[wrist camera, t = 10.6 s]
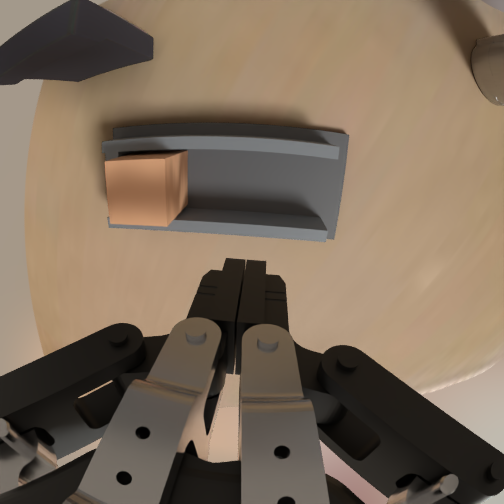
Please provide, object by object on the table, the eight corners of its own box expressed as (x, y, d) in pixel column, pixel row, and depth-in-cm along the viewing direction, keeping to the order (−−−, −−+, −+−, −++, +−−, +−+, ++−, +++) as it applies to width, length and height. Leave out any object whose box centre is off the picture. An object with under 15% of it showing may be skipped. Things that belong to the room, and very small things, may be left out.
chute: (116, 127, 27) (94, 130, 22) (347, 134, 26) (361, 136, 22) (121, 222, 32) (103, 238, 28) (332, 236, 32) (342, 255, 27)
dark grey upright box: (155, 32, 22) (80, -13, 8) (154, 64, 23) (73, 33, 10) (78, 57, 22) (-8, 45, 9) (78, 86, 24) (-12, 86, 11)
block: (137, 151, 27) (104, 161, 21) (187, 150, 27) (164, 158, 21) (139, 202, 30) (110, 223, 24) (187, 204, 30) (167, 226, 23)
